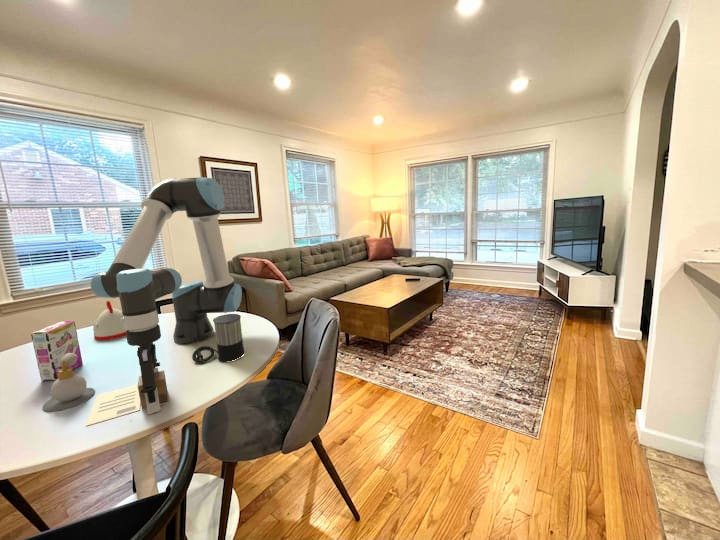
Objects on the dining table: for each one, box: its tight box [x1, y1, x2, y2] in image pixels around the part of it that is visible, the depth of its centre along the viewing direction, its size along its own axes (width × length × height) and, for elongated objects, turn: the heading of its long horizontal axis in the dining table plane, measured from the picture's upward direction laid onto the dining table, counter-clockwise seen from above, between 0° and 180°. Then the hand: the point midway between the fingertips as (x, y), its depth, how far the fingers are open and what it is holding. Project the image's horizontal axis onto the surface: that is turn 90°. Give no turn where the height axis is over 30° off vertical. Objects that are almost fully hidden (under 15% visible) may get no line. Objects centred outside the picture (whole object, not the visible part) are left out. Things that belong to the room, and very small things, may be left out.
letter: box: [85, 384, 141, 427], centre depth 87 cm, size 11×16×1 cm
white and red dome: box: [92, 300, 127, 341], centre depth 138 cm, size 14×14×15 cm
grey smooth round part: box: [42, 387, 96, 413], centre depth 89 cm, size 11×11×1 cm
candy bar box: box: [30, 320, 83, 382], centre depth 104 cm, size 11×5×16 cm, turn 5°
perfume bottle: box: [50, 353, 88, 402], centre depth 88 cm, size 8×10×12 cm
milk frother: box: [191, 313, 245, 364], centre depth 111 cm, size 14×16×15 cm
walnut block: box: [137, 370, 169, 411], centre depth 87 cm, size 6×6×7 cm
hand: (155, 400), depth 87 cm, fingers open, 12 cm apart
